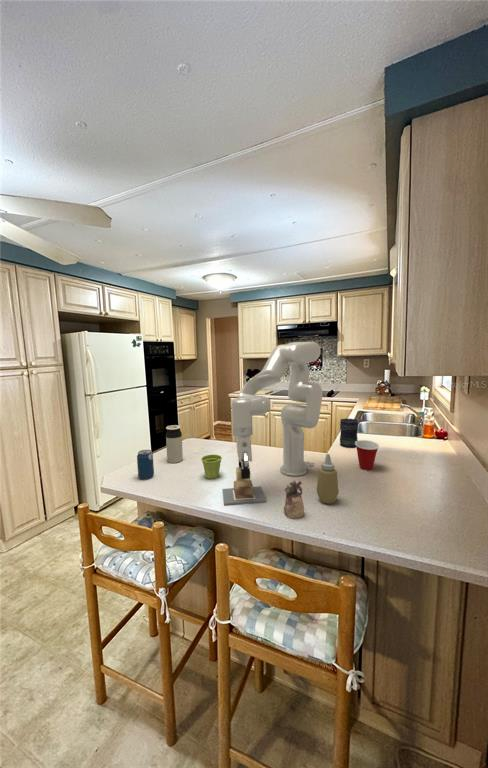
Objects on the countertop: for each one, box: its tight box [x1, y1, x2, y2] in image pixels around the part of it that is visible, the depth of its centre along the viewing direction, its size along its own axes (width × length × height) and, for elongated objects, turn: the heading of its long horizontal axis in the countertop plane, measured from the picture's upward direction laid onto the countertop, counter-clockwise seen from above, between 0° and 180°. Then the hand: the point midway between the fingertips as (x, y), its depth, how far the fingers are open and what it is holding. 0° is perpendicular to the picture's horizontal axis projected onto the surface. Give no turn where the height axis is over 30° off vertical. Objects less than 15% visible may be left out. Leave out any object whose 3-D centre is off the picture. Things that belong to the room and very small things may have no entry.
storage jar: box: [339, 418, 359, 449], centre depth 179 cm, size 10×10×15 cm
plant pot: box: [200, 454, 223, 480], centre depth 140 cm, size 9×9×9 cm
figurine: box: [283, 480, 305, 520], centre depth 108 cm, size 7×7×12 cm
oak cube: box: [235, 466, 252, 488], centre depth 120 cm, size 5×5×6 cm
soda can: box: [136, 449, 155, 480], centre depth 141 cm, size 7×7×12 cm
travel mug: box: [165, 424, 184, 464], centre depth 160 cm, size 8×8×18 cm
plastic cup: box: [355, 439, 380, 471], centre depth 146 cm, size 11×11×12 cm
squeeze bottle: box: [316, 453, 340, 505], centre depth 116 cm, size 8×8×18 cm
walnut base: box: [233, 480, 254, 499], centre depth 121 cm, size 7×7×4 cm
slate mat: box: [222, 485, 267, 506], centre depth 121 cm, size 16×12×1 cm
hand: (244, 472), depth 121 cm, fingers open, 9 cm apart
